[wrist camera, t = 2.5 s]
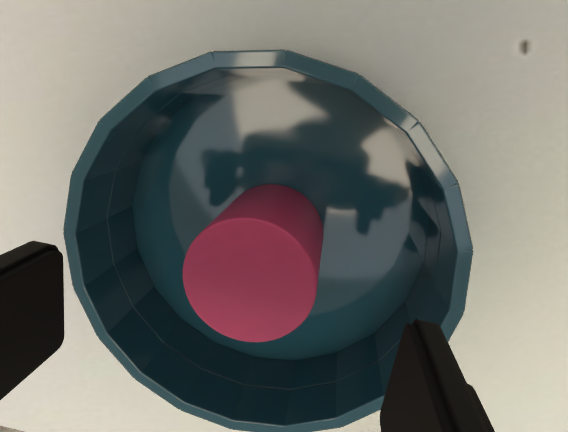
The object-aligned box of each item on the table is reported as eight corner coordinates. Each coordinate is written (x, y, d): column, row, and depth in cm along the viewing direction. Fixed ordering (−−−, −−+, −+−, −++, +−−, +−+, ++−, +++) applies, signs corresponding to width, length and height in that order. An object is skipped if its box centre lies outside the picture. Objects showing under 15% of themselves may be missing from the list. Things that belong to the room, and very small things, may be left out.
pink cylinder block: (205, 219, 17) (155, 264, 13) (284, 163, 16) (260, 189, 11) (263, 294, 18) (236, 364, 13) (343, 246, 17) (344, 303, 12)
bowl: (71, 189, 18) (-10, 216, 14) (313, -17, 15) (302, -65, 10) (248, 402, 21) (224, 481, 16) (499, 272, 17) (553, 331, 12)
